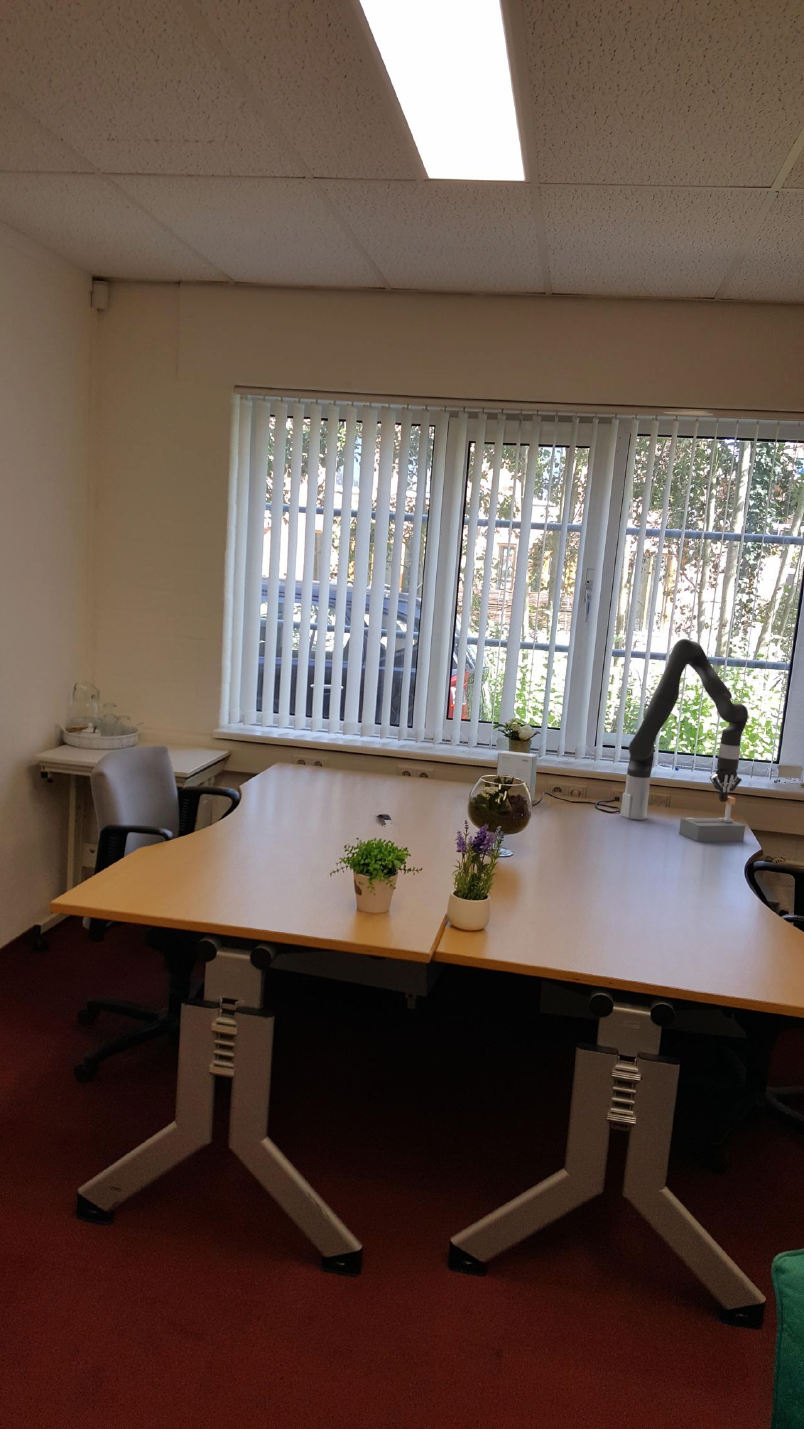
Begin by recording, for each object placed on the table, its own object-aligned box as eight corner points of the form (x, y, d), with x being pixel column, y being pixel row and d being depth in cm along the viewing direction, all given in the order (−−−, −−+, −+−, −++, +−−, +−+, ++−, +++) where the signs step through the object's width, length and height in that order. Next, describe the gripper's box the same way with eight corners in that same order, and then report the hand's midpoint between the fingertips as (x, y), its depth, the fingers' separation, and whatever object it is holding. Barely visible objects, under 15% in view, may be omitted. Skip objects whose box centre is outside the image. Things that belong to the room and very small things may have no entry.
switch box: (697, 841, 357) (698, 825, 356) (679, 833, 369) (680, 817, 368) (743, 841, 363) (745, 825, 362) (724, 833, 374) (726, 817, 374)
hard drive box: (534, 801, 408) (538, 754, 406) (529, 804, 401) (533, 757, 399) (499, 795, 415) (503, 749, 412) (493, 798, 408) (497, 752, 405)
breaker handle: (726, 822, 364) (729, 798, 363) (720, 820, 368) (723, 795, 367) (733, 822, 365) (736, 798, 364) (727, 820, 369) (729, 795, 368)
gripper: (719, 757, 357) (713, 803, 359) (749, 759, 361) (743, 804, 363) (707, 754, 364) (701, 798, 366) (737, 755, 368) (731, 799, 370)
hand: (722, 801), depth 365 cm, fingers closed
